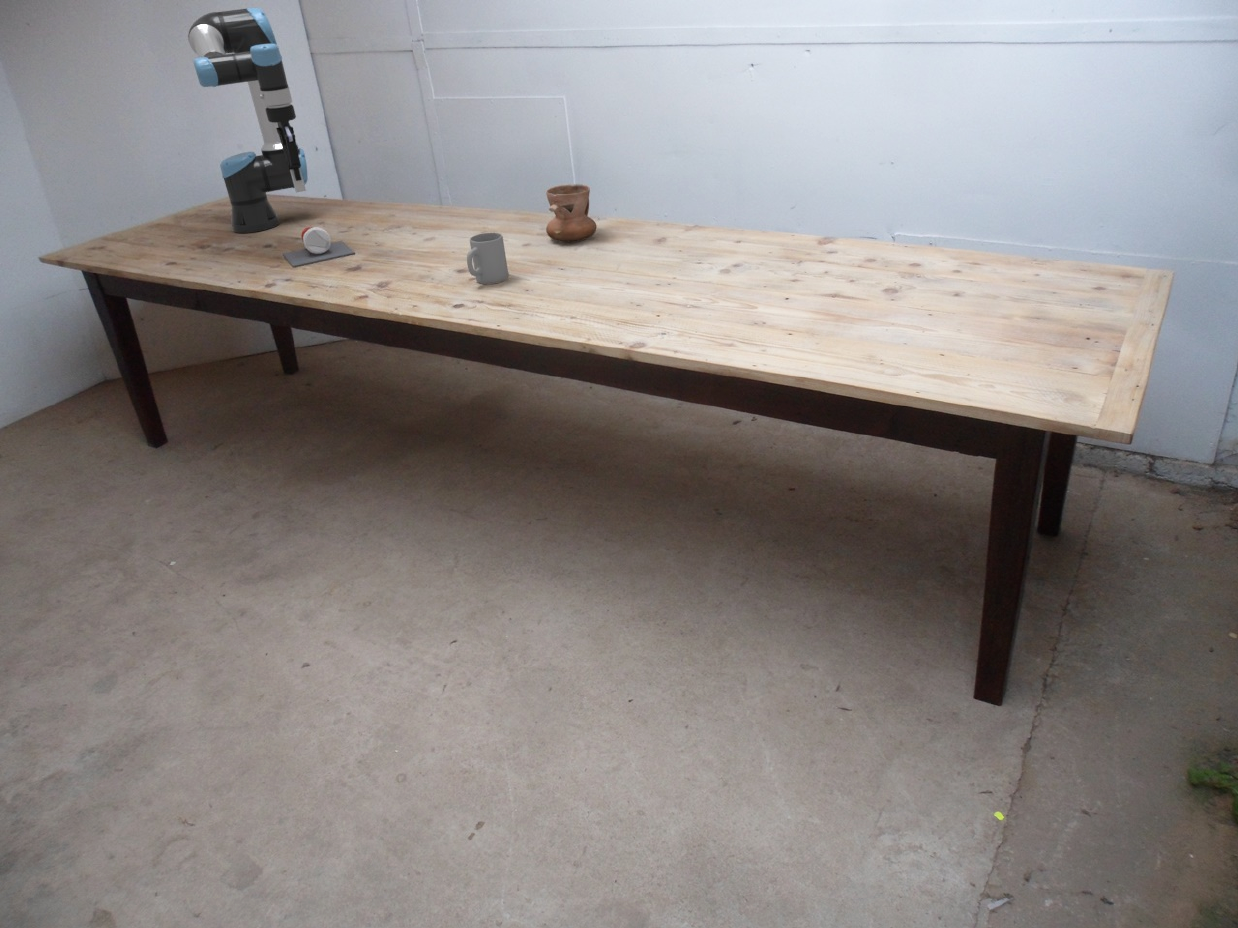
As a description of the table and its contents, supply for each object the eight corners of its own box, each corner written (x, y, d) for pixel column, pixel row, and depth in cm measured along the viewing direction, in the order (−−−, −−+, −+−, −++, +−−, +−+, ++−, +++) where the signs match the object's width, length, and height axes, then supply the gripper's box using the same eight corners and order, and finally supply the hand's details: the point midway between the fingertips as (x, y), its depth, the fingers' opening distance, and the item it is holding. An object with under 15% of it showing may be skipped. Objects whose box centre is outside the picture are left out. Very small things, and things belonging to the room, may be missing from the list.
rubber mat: (283, 255, 274) (282, 253, 273) (342, 242, 280) (342, 240, 280) (293, 267, 261) (293, 266, 261) (355, 254, 268) (354, 252, 268)
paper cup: (327, 230, 279) (335, 234, 267) (318, 253, 280) (325, 258, 268) (302, 219, 275) (309, 223, 263) (293, 242, 276) (299, 247, 264)
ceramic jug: (575, 249, 253) (571, 197, 246) (534, 244, 260) (529, 194, 253) (611, 232, 266) (607, 183, 259) (571, 228, 273) (566, 179, 266)
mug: (490, 272, 242) (484, 231, 236) (515, 275, 237) (509, 234, 232) (460, 286, 234) (452, 244, 228) (485, 290, 229) (478, 247, 224)
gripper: (261, 105, 256) (283, 189, 268) (269, 110, 246) (292, 198, 258) (287, 100, 259) (308, 184, 271) (297, 106, 249) (318, 193, 261)
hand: (300, 191), depth 264 cm, fingers closed
